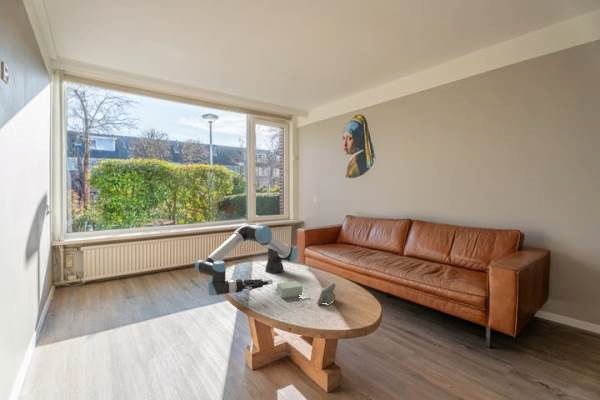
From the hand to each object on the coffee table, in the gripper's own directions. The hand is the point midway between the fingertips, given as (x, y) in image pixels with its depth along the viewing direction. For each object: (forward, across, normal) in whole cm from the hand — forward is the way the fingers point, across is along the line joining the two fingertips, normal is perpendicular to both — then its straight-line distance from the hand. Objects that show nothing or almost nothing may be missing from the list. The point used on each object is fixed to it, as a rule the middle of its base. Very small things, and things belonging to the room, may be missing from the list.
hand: (272, 281), depth 182 cm
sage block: (+5, 0, -7) cm, 8 cm away
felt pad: (+14, 0, -10) cm, 18 cm away
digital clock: (+29, +19, -10) cm, 36 cm away
